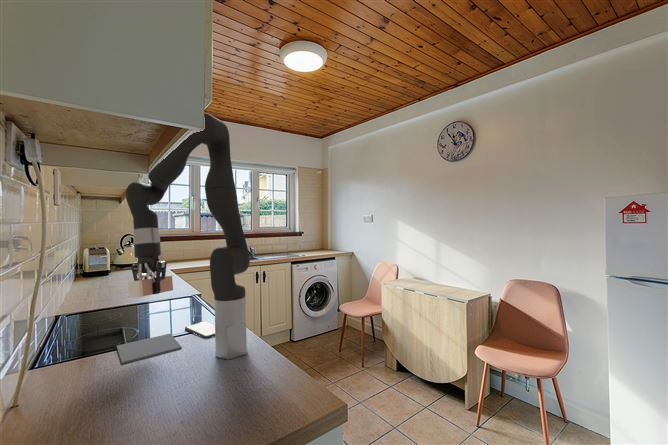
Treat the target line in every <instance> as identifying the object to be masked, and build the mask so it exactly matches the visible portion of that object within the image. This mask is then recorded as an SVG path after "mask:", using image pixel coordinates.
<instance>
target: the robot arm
mask: <svg viewBox="0 0 668 445" xmlns="http://www.w3.org/2000/svg"><path fill="white" fill-rule="evenodd" d="M204 113H205V129H204V130H203V131H200V132H196V133H193V134H192V135H190V136H189V137H188V138H187V139H186V140H184V141H183V142H182V143H181V144H180V145H179V146H178V147H177V148H176V149H175V150H173V151H172V152H171V153H170V154H169V155H168V156H167V157H166V158H165V159H163V158H162V159H163V160H162V159H161V160H162V161H161V160H160V161H161V162H160V161H159V162H160V163H159V162H158V163H157V164H156V165H155V166H154V167H153V168H152V169H151V170H150V171H149V172H148V174H147V178H148V180H149V181H150V183H149V184H148V183H145V182H144V183H143V182H138V181H134V182H131V183H130V184H128V186H127V187H126V189H125V200H126V202H127V206H128V209H129V211H130V214H131V215H132V218H133V219H132V222H133V234H132V235H133V238H132V239H133V252H134V253H133V255H134V256H133V257H134V258H135V259H137V263H135V264H131V265H130V267H131V273H132V276H133V281H137V280H144V279H149V278H151V279H152V282H153V283H152V289H153V294H152V295H159V294H161V293H160V290H161V289H160V281H161V280H163V279H165V276H166V272H167V265H168V264H167V263H168V262H167V260H166V261H165V260H163V261H162V260H160V258H159V257H160V256H161V255H162V250H161V235H160V231H159V218H158V214H157V212H155V211H153V210H151V209H149V207H148V206H154V205H157V204H158V203H160V201H162V199H163V198H164V196H165V194H166V192H167V191H168V189H169V186H171V185H172V184H173V182H175V181H176V179H178V178H179V177H180V176H181V175H182V173H183V172H184V170H185V169H186V166H187V165H186V164H187V161H188V160H189V157H190V154H192V152H193V151H194V150H195V149H196V148H197V147H199V146H200V145H201V144H203V145H206V147H207V151H208V155H209V170H208V172H207V175H206V178H205V183H204V194H205V199H206V203H207V207H208V210H209V212H210V213H211V215H212V216H213V218H214V219H215V221H216V222H217V223H218V225H219V226H220V228H221V230H222V232H223V234H224V238H225V245H226V246H225V245H224V246H219V247H216V248H214V249H213V251H212V252H211V255H210V256H209V273H210V274H209V275H210V285H211V289H212V293H213V296H214V298H213V299H214V324H215V336H214V339H215V340H214V341H215V357H216V358H219V359H226V360H228V361H229V360H231V359H235V358H238V357H241V356H244V355H247V353H248V348H247V346H248V345H247V344H248V342H247V340H248V339H247V309H246V308H247V307H246V304H247V302H246V288H245V286H244V285H239V284H237V283H236V278H235V276H236V275H239V274H242V273H245V272H246V271H247V270H248V269H249V266H250V261H251V258H250V252H249V248H248V244H247V240H246V237H245V233H244V229H243V224H242V219H241V214H240V209H239V204H238V203H239V202H238V195H237V194H238V193H237V189H236V184H235V179H234V178H235V177H234V173H233V172H234V171H233V165H232V160H231V143H230V142H231V140H230V132H229V128H228V126H227V125H226V124H225V122H223V121H222V120H220V119H218V118H216V117H215V116H213V114H210V113H208V112H207V113H206V112H204Z"/></svg>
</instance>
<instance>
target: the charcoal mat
mask: <svg viewBox="0 0 668 445" xmlns="http://www.w3.org/2000/svg"><path fill="white" fill-rule="evenodd" d="M182 348H183V347H182V346H181V344H180V343H179V342H178V341H177V340H176V338H175V337H174V336H173V334H171V333H166V334H162V335H158V336H153V337H148V338H144V339H139V340H136V341H131V342H127V343H122V344H118V345H116V350H117V354H118V357H119V356H120V357H119V359H120V363H121V365H124V364H128V363H132V362H136V361H139V360H143V359H144V360H145V359H147V358H151V357H155V356H159V355H163V354H167V353H170V352H171V353H172V352H175V351H177V350H178V351H179V350H182Z"/></svg>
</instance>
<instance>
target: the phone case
mask: <svg viewBox="0 0 668 445" xmlns="http://www.w3.org/2000/svg"><path fill="white" fill-rule="evenodd" d="M184 331H186V332H188V331H189V332H188V333H190V332H192V333H195V334H197V335H200V336H201V337H200V336H199V337H200V338H202V337H203V338H202V339H205V338H208V339H211V338H213V337H212V336H214V337H215V323H212V322H209V321H206V320H203V321H200V322H195V323H193V324H189V325H186V326H185V327H184ZM192 333H191V334H192ZM195 334H194V335H195ZM197 335H196V336H197ZM210 337H211V338H210Z"/></svg>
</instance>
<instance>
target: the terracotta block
mask: <svg viewBox="0 0 668 445" xmlns="http://www.w3.org/2000/svg"><path fill="white" fill-rule="evenodd" d="M143 279H144V278H143ZM152 283H153V282H152V279H151V277H149V278H148V279H144V280H137V281H134V280H132V281H127V288H128V289H127V290H128V292H127V293H128V298H130V299H131V298H141V297H142V298H144V297H147V296H152V295H154V294H153V289H152ZM173 283H174V282H173V275H168V276H167V275H165V279H163V280H161V281H160V289H161V290H160V293H159V294H161V293H162V294H163V293H166V292H170V291H171V292H172V291H174V284H173Z"/></svg>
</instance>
